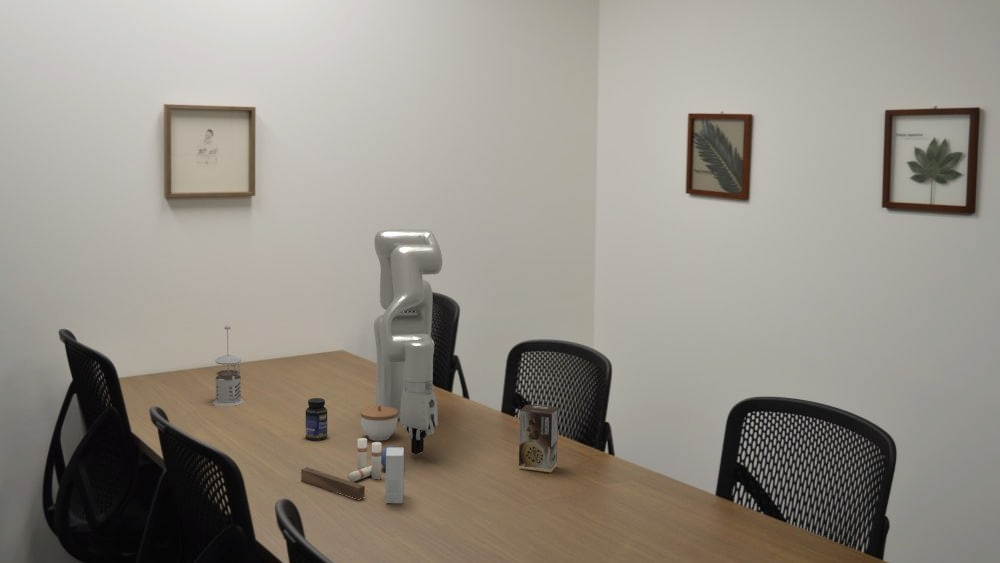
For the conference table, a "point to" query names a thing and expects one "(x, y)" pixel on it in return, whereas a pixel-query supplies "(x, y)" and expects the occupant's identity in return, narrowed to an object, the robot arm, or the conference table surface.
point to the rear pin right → (362, 453)
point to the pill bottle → (316, 419)
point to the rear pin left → (376, 460)
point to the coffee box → (538, 436)
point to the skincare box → (394, 475)
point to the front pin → (360, 474)
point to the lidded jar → (379, 422)
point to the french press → (228, 381)
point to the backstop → (332, 483)
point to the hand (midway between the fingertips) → (417, 452)
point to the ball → (383, 456)
